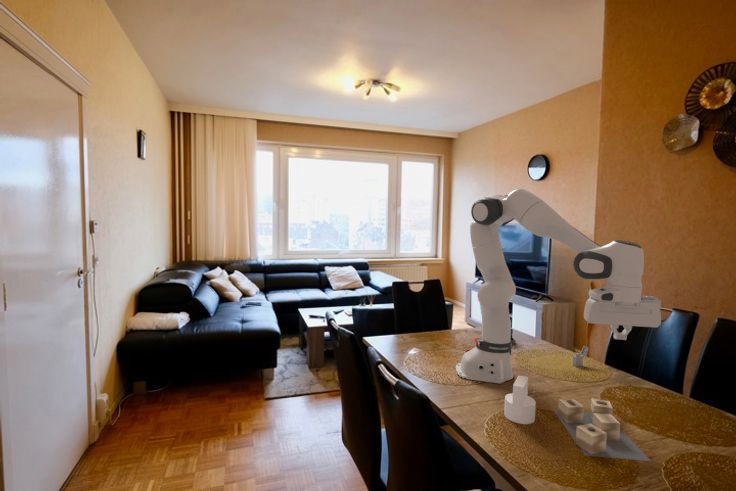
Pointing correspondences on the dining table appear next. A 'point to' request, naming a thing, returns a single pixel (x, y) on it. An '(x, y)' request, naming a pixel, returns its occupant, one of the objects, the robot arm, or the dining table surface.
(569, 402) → the marked block
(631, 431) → the dining table surface
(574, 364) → the lighter
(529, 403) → the cylinder with rectangular tab
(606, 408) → the marked block
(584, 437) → the marked block
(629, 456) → the mat
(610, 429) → the plain block
